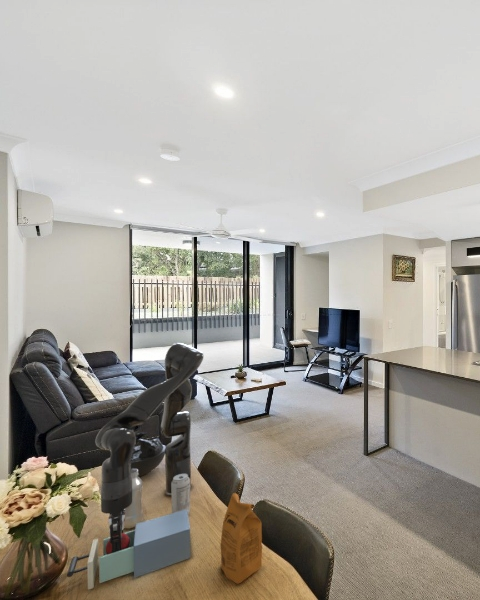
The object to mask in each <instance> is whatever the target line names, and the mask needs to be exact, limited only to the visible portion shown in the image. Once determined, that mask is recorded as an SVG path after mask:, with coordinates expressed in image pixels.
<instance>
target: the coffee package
mask: <svg viewBox="0 0 480 600" xmlns="http://www.w3.org/2000/svg"><path fill="white" fill-rule="evenodd" d="M253 509H255V504H254V503H248V502H247V503H246V502H241V500H240V497H239V494H238V493H236V492H233V493H232V495H231V496H230V500H229V502H228V505H227V509H226V512H225V515H224V518H223V521H222V526H221V527H222V529H221V536H220V537H221V538H220V545H219V546H220V547H219V548H220V569H221V570H222V571H223V573H224V575H225V576H226V578H227V579H228V580H229V581H232V582H234V583H235V584H237V585H238V584H241V583H242V582H244V581H245V580H246V579H248V578H249V577H250V576H251V575H253V574H254V573H257V571H259V570H260V568H262V566H263V563H262V562H263V561H262V558H263V544H262V543H263V542H262V541H263V533H262V531H263V530H262V527H263V522H262V521H261V519H260V518H259V516H257V515H256V513H254V511H253Z"/></svg>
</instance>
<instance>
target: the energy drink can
mask: <svg viewBox="0 0 480 600" xmlns="http://www.w3.org/2000/svg"><path fill="white" fill-rule="evenodd" d="M171 493H172V496H171V514H172V513H176V512H179V511H182V510H186V509H187V510H188V515H189V514H190V512H191V488H190V478H189V477H188V474H179V475H176V476H175V477H174V478H173V481H172V483H171Z"/></svg>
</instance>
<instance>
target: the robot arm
mask: <svg viewBox="0 0 480 600" xmlns="http://www.w3.org/2000/svg"><path fill="white" fill-rule="evenodd" d="M203 361H204V353H203V352H202V351H201V350H198V349H197V348H194V347H191V346H190V345H187V344H184V343H181V342H177V343H173V344H171V346H170V347H169V348H168V349H167V352H166V354H165V357H164V373H165V381H162V382H160V383H158V384H155V385H153V386H151V387H149V388H147V389H145V390H143V391H141V393H140V394H139V395H138V396H137V397H136V398H134V400H132V402H131V403H130V404H129V405H128V406H127V408H126V409H125V410H124V411H122V412H121V413H119V414H118V415H117V416H115V417H114V418H112V419H111V420H110V421H109V422H107V423H106V424H105V425H103V426H102V428H101V429H100V430H99V431H98V433H97V435H96V436H95V441H94V442H95V446H96V447H97V448H99V449H100V450H105V451H109V452H110V457H108V458H106V459H105V460H103V462H102V465H101V485H100V510H101V513H102V514H106V515H107V514H109V515H108V519H107V520H108V521H107V522H108V524H109V526H108V528H109V530H108V533H109V537H110V544H112V553H114V552H117V551H120V550H121V549H122V545H121V539H122V533H124V529H125V528H124V521H125V514H126V508H127V507H129V506H130V505H131V503H132V478H131V458H132V455H133V451H134V447H136V445H135V443H136V435H135V433H136V432H135V431H134V429H132V428H133V427H136V426H141V425H143V424H145V423H146V422H147V421H148V420H149V419H150V417H151V416H152V415H153V414H154V413H155V412H156V410H157V409H159V407H160V406H161V405H162V403H163V411H162V416H161V421H160V433H161V435H162V437H164V438H173V437H177V438H176V439H174V440H172V441H171V442H169V443H168V444H167V445H165V447H166V448H165V455H164V461H165V463H164V465H165V467H164V469H165V490H164V491H165V496H170V497H172V493H171V483H172V481H173V478H174V477H175V476H176V475H179V474H188V477H189V478H190V489H191V488H192V473H191V472H192V470H191V467H192V466H191V465H192V464H191V463H192V462H191V460H192V459H191V429H192V417H191V414H190V412H189V411H183V410H184V409H185V408H186V407H187V406H188V405H189V403H190V401H191V398H192V392H193V387H192V383H191V381H190V379H189V378H190V377H191V376H192V375H194V374H195V372H196V371H197V370H198V369H199V368H200V367H201V365H202V363H203ZM181 411H182V412H181ZM178 436H179V437H178ZM136 444H137V443H136ZM116 535H119V536H116ZM114 536H116V537H114Z"/></svg>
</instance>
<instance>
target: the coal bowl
mask: <svg viewBox="0 0 480 600" xmlns="http://www.w3.org/2000/svg"><path fill="white" fill-rule="evenodd" d="M134 433H135V435H136V443H135V447H134V451H133V455H132V458H131V470H132V469H138V477H141V476H144V475H147V474H149V473H151V472H152V471H154V470H155V469H156V468H157V467H159V465H161V463H162V462H163V460H164V459H165V448H166V445H164V444H163V443H162V442H161V440H160V438H159V437H156V438H153V439H151V440H150V439H149V440H148V439H143V437H144V436H146V435H148V434H149V433H148V432H143V431H142V432H138V433H137V432H134ZM138 443H139V445H137V444H138ZM136 445H137V446H136Z"/></svg>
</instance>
